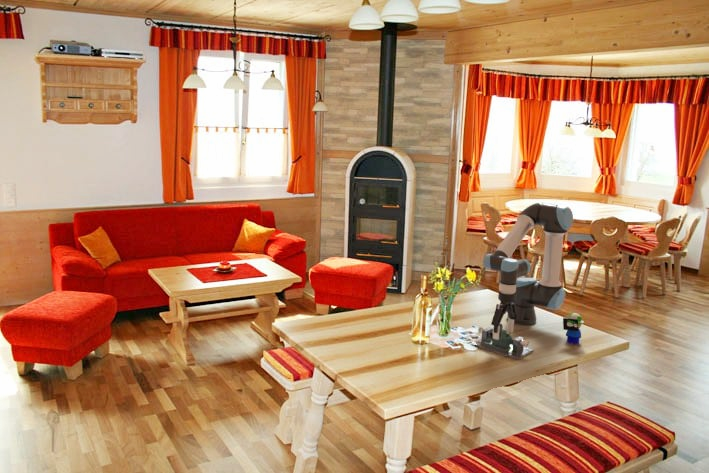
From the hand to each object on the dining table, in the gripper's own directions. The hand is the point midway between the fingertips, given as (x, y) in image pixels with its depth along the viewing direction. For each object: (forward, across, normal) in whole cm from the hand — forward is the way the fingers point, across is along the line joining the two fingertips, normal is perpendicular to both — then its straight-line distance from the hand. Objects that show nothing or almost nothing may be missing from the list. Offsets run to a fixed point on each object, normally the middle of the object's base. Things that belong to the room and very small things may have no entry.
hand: (502, 335), depth 292 cm
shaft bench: (+6, 0, 0) cm, 6 cm away
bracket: (+5, 0, 0) cm, 5 cm away
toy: (+6, -33, +20) cm, 39 cm away
